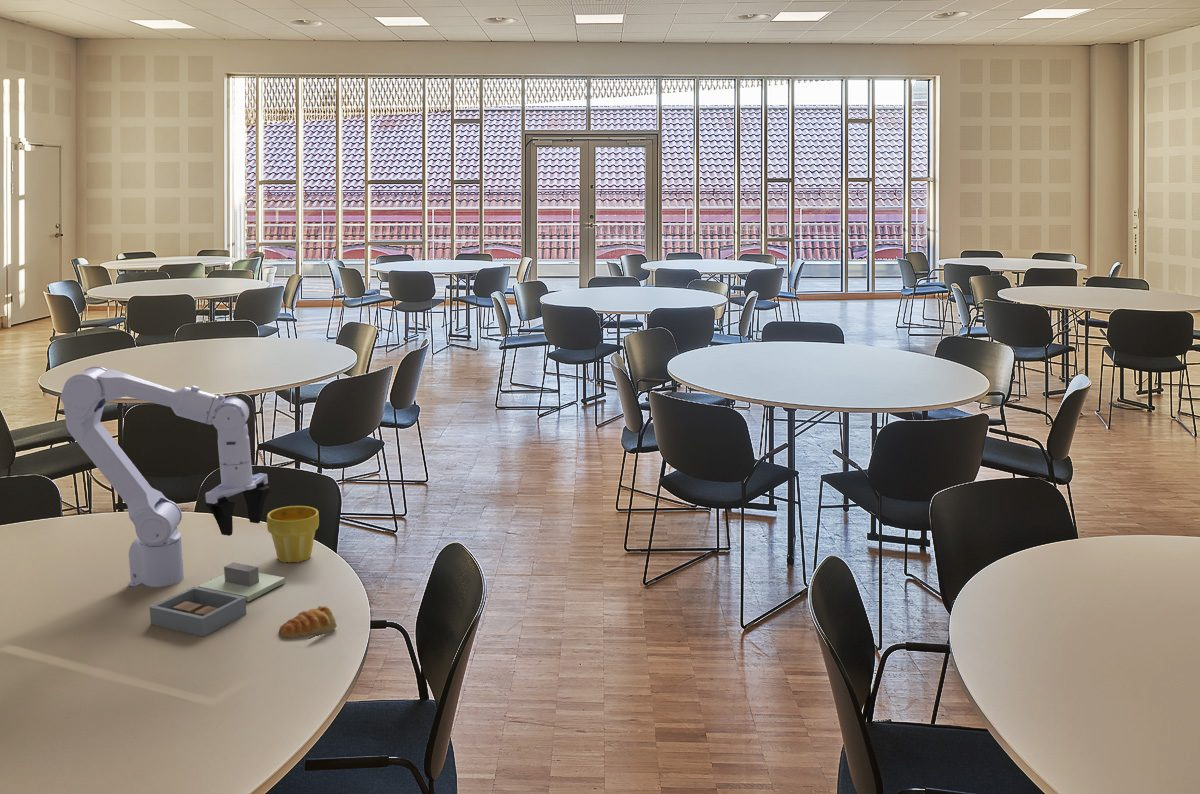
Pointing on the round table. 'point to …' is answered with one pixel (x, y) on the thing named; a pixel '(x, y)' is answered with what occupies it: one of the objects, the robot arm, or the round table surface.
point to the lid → (243, 581)
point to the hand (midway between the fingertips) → (241, 528)
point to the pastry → (309, 623)
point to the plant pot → (293, 531)
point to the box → (195, 624)
